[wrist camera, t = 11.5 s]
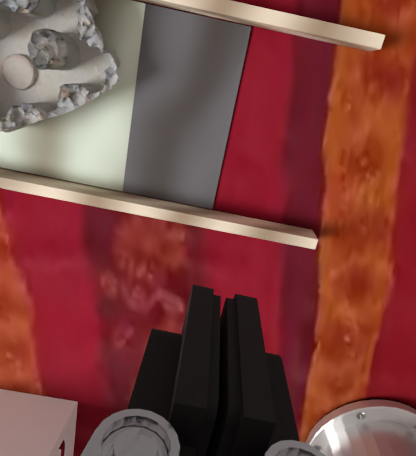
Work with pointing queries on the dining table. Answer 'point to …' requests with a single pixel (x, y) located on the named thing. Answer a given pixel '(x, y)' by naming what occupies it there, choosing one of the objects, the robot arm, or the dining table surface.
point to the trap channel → (161, 115)
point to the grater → (36, 424)
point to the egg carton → (50, 60)
